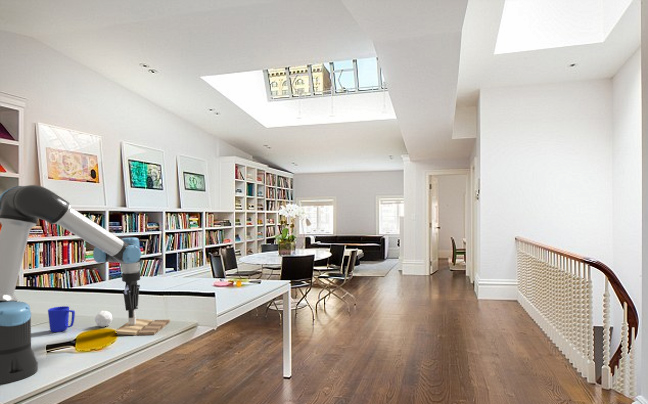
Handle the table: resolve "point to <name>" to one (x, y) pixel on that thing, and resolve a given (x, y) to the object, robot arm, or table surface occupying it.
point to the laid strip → (154, 327)
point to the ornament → (103, 318)
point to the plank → (133, 327)
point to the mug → (60, 318)
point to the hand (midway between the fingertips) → (132, 324)
